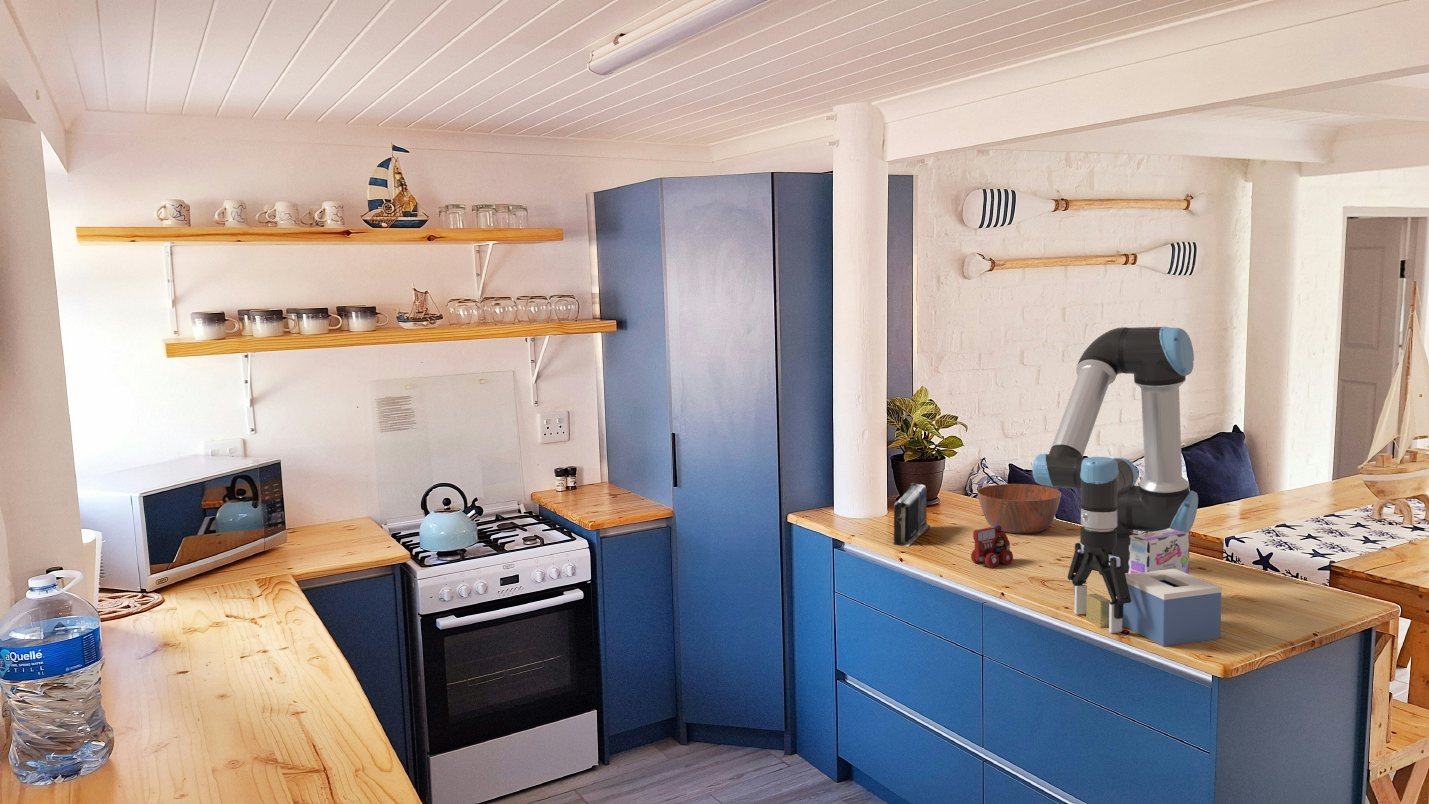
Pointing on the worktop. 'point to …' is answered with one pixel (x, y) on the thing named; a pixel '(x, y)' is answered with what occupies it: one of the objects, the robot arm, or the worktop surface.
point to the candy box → (1159, 551)
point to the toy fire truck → (991, 547)
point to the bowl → (1019, 507)
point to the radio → (910, 516)
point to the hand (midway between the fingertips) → (1097, 622)
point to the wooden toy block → (1098, 610)
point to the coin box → (1172, 607)
